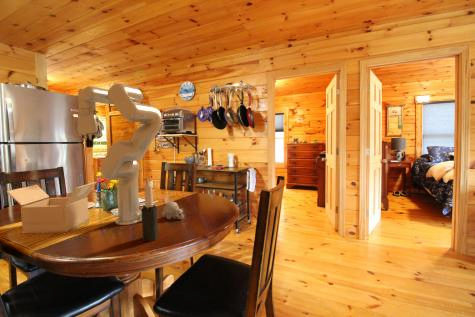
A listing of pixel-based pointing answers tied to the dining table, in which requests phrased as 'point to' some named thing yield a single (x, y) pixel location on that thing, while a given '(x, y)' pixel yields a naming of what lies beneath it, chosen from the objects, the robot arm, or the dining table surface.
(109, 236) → the dining table surface
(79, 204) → the carton
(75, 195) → the flap
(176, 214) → the chubby cartoon animal
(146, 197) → the candle
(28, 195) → the flap
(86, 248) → the dining table surface
